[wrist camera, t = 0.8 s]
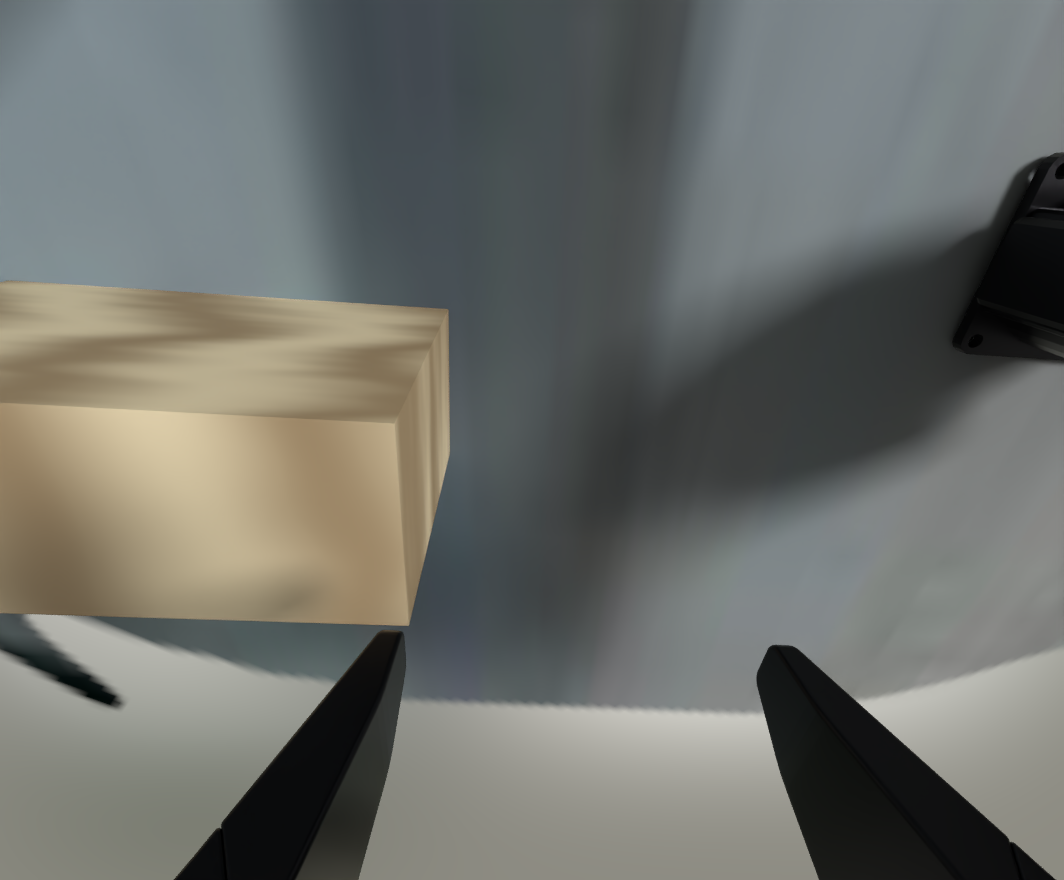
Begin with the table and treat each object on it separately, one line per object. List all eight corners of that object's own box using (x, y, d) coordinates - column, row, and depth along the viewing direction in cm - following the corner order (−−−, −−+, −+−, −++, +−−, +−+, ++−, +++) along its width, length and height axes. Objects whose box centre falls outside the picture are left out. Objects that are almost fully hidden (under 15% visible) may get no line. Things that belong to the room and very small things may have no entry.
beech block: (448, 308, 18) (394, 423, 10) (450, 451, 21) (408, 626, 13) (10, 279, 17) (-413, 381, 9) (75, 432, 20) (-206, 606, 12)
